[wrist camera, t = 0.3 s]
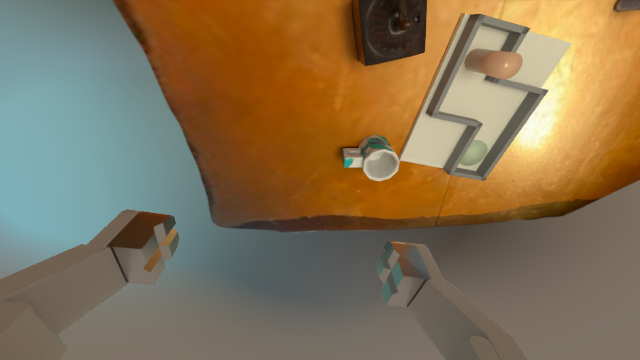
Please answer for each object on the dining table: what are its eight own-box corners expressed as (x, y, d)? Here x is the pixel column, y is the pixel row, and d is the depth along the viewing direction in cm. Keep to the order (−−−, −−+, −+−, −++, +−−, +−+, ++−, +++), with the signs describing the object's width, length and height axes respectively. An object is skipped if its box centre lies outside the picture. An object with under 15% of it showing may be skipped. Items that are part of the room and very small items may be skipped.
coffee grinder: (411, 49, 47) (457, 58, 32) (357, 62, 48) (375, 77, 33) (411, -57, 38) (473, -111, 23) (345, -38, 40) (363, -78, 25)
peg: (471, 46, 46) (506, 50, 37) (489, 51, 46) (528, 56, 38) (460, 68, 48) (491, 76, 39) (478, 72, 48) (512, 81, 40)
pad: (466, 137, 56) (467, 138, 56) (492, 143, 57) (493, 143, 57) (452, 162, 60) (452, 163, 59) (476, 167, 61) (477, 167, 60)
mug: (386, 163, 61) (395, 181, 54) (341, 164, 61) (344, 181, 54) (392, 134, 57) (402, 149, 50) (342, 134, 57) (346, 149, 49)
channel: (461, 13, 44) (474, 12, 40) (566, 42, 46) (586, 44, 43) (398, 158, 60) (403, 166, 57) (478, 173, 63) (487, 181, 59)
